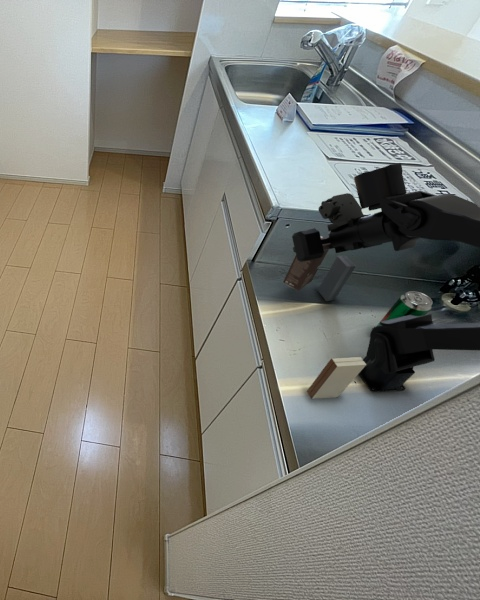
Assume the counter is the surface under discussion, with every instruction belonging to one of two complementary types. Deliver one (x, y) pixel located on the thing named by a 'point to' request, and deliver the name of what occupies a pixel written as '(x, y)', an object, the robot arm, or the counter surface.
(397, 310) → the soda can
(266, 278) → the counter surface
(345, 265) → the grey books
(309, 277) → the box
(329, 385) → the cream books
